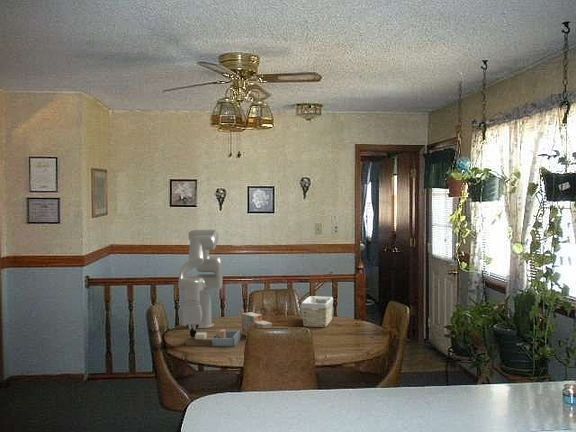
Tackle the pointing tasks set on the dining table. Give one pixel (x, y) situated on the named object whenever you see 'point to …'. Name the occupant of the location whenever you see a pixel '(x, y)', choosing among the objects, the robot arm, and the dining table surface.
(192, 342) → the walnut board
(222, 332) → the peach block
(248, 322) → the stack of blocks
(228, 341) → the tray
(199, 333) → the cream tile
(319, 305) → the storage basket
